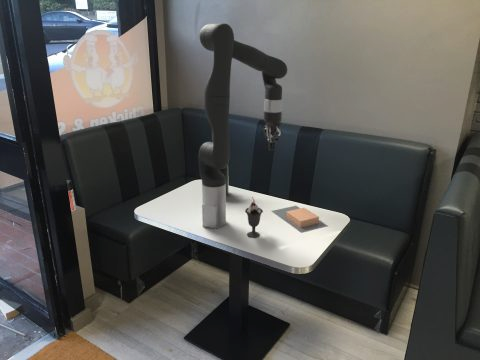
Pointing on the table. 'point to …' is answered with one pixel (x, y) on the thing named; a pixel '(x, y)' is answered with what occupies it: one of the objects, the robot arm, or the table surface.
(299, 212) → the terracotta brick
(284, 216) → the slate board
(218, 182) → the robot arm
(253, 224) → the sundae
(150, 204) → the table surface
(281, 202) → the table surface
